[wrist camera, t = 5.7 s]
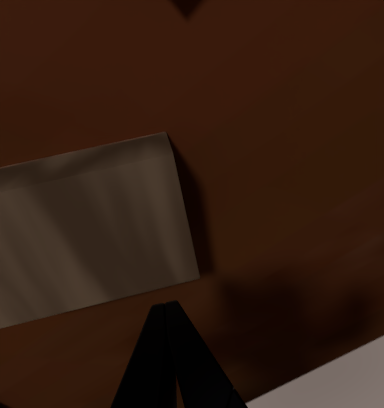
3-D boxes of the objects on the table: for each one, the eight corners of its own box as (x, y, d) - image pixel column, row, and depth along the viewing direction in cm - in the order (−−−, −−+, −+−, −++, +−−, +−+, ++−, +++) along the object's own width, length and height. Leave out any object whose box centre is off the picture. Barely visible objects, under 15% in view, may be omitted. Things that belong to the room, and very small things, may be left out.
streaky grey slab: (173, 153, 11) (-110, 216, 10) (199, 278, 14) (-11, 331, 14) (165, 130, 14) (-48, 176, 14) (188, 235, 18) (19, 275, 17)
